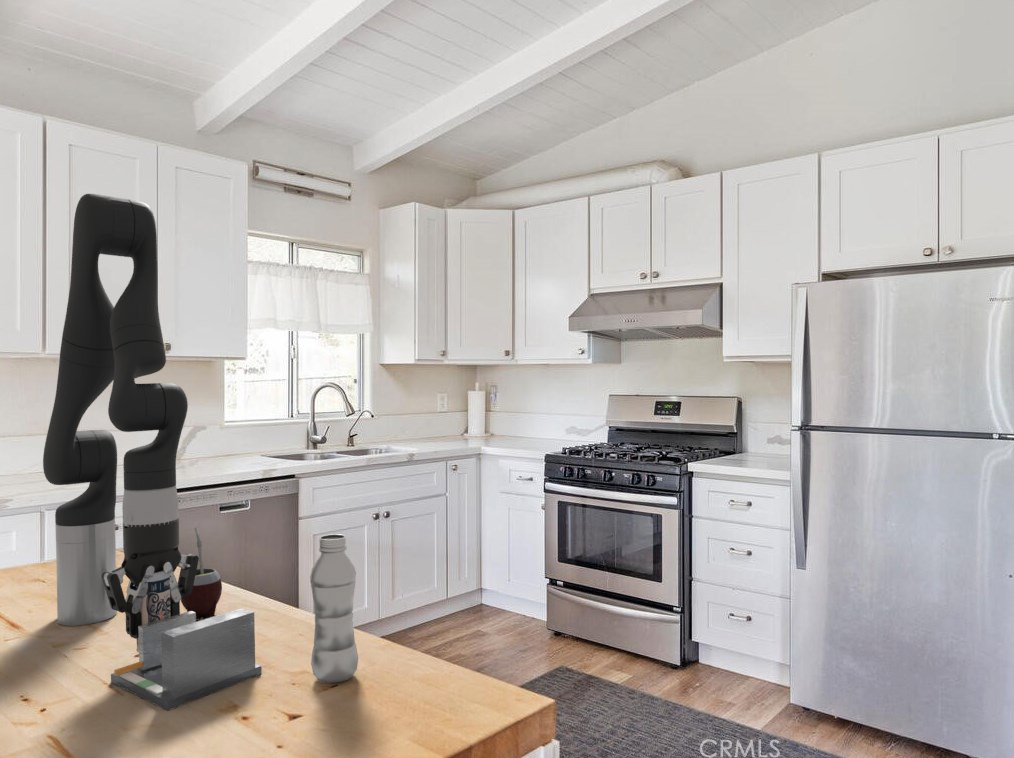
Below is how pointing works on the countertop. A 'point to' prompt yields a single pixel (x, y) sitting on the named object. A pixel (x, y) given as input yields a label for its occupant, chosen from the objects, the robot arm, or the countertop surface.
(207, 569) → the mate gourd
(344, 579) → the plastic bottle
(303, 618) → the countertop surface
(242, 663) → the gauge base
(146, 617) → the beer can
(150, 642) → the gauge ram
